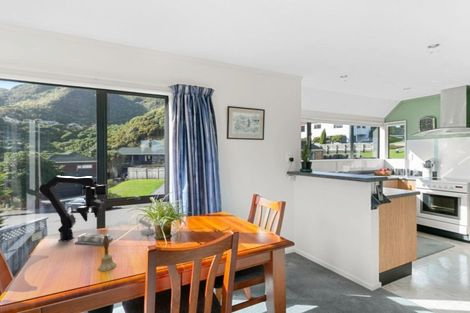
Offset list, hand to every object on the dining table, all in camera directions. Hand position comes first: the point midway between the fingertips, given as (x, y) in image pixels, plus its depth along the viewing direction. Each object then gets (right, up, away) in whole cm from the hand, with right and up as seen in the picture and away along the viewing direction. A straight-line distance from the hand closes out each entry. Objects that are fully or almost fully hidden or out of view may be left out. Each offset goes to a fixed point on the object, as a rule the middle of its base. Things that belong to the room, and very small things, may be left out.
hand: (91, 219), depth 177 cm
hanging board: (+6, -12, -7) cm, 16 cm away
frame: (+6, -11, -7) cm, 15 cm away
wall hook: (+33, -11, +9) cm, 36 cm away
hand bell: (+31, -14, -43) cm, 54 cm away
